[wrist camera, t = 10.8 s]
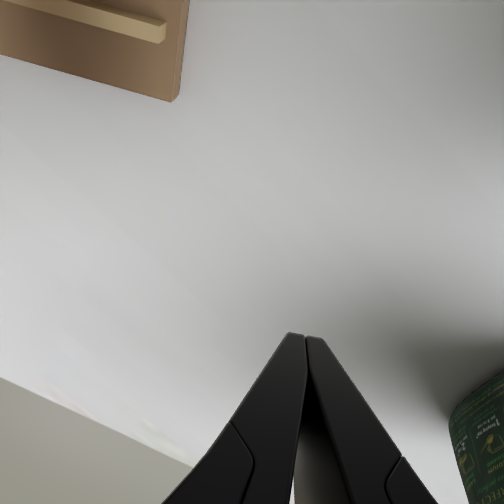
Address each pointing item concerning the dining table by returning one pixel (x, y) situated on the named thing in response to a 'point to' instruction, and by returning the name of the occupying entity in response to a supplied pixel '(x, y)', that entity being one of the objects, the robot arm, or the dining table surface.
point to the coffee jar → (481, 442)
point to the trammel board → (101, 40)
